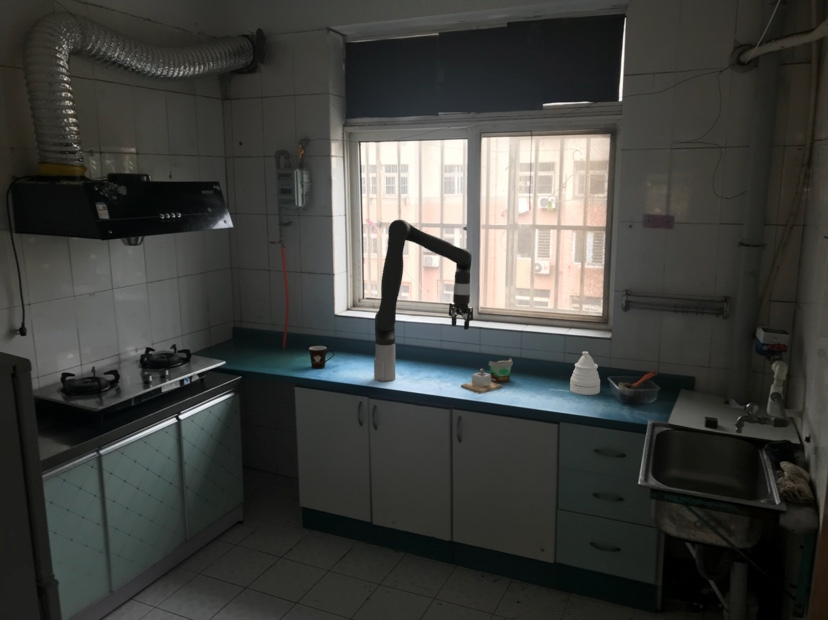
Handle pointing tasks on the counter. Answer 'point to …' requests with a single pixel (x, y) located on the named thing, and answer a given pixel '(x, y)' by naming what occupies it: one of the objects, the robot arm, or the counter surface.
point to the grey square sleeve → (481, 380)
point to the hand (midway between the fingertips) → (460, 327)
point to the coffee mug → (318, 356)
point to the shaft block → (478, 389)
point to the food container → (500, 371)
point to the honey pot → (585, 376)
